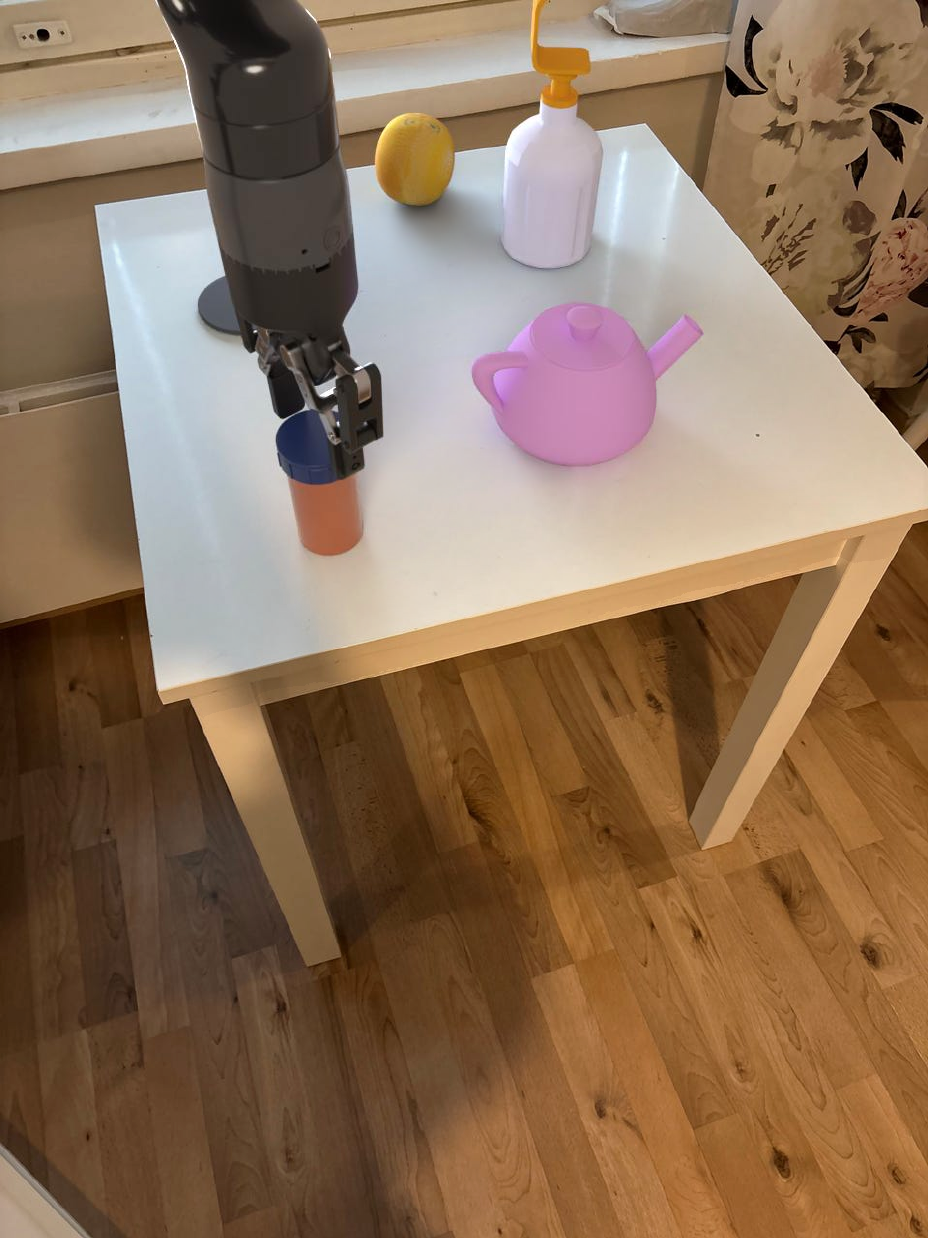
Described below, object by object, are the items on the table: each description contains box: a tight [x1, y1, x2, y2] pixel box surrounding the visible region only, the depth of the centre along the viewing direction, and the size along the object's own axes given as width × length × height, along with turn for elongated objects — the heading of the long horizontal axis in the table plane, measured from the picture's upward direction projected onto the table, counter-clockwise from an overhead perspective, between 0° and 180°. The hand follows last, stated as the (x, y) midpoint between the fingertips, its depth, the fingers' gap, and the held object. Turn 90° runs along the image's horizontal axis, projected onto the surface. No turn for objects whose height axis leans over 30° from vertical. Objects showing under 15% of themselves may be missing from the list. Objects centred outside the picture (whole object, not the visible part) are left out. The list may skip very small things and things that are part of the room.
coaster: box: [197, 275, 257, 336], centre depth 90 cm, size 9×9×1 cm
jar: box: [286, 472, 364, 557], centre depth 70 cm, size 5×5×10 cm
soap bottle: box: [500, 0, 604, 269], centre depth 86 cm, size 9×9×25 cm
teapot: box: [470, 302, 705, 467], centre depth 77 cm, size 14×20×11 cm
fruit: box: [374, 112, 456, 207], centre depth 97 cm, size 9×8×8 cm
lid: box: [275, 409, 339, 485], centre depth 67 cm, size 6×6×2 cm
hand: (319, 441), depth 66 cm, fingers open, 7 cm apart
